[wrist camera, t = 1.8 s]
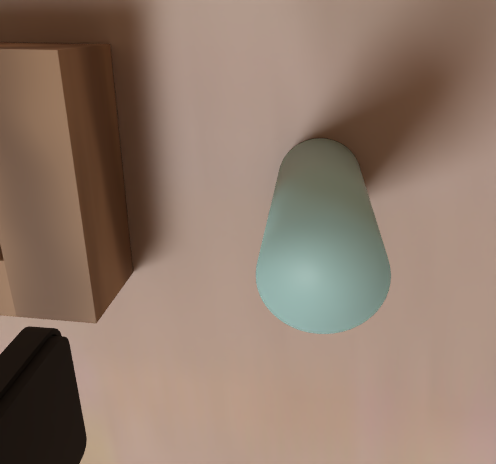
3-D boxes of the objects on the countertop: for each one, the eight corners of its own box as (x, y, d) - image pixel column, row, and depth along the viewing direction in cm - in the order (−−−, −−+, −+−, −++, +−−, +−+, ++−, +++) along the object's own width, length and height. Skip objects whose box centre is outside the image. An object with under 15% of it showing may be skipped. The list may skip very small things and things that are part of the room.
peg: (365, 139, 22) (399, 220, 13) (356, 218, 24) (382, 338, 15) (279, 136, 23) (257, 212, 14) (277, 214, 24) (254, 328, 15)
